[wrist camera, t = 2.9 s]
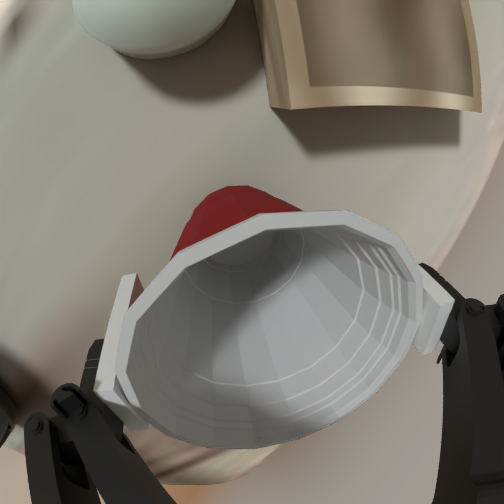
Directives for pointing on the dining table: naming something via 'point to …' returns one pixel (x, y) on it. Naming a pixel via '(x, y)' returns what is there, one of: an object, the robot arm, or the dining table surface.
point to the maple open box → (369, 53)
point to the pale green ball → (152, 24)
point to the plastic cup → (268, 322)
